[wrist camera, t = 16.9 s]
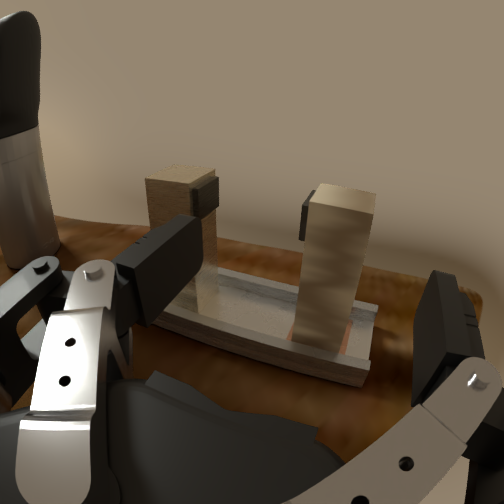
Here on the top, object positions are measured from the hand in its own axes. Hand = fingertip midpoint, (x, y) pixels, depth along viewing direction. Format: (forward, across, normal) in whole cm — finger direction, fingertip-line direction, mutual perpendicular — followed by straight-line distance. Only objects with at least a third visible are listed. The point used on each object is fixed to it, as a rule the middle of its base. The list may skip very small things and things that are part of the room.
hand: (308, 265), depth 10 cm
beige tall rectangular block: (+11, 0, +14) cm, 18 cm away
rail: (+11, +6, +15) cm, 20 cm away
